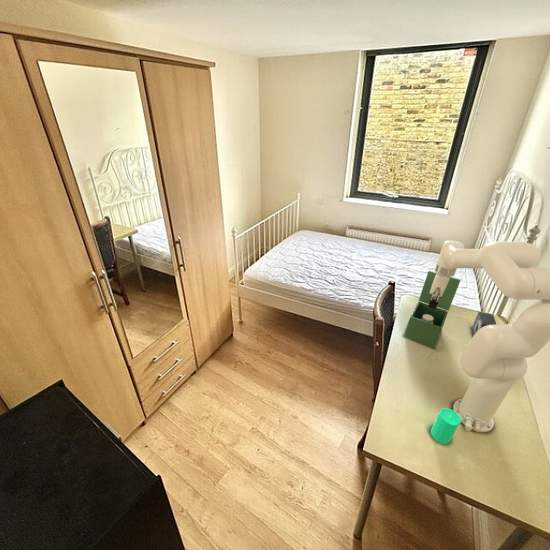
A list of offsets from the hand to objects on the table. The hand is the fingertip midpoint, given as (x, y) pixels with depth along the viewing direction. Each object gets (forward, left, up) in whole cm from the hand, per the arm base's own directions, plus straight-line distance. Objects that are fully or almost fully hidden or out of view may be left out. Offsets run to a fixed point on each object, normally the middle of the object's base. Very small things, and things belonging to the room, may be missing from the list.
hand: (434, 302), depth 131 cm
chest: (+3, 0, -20) cm, 20 cm away
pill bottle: (+2, 0, -20) cm, 20 cm away
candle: (-48, -17, -20) cm, 55 cm away
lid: (+11, 0, +1) cm, 11 cm away
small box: (+19, -23, -20) cm, 36 cm away
